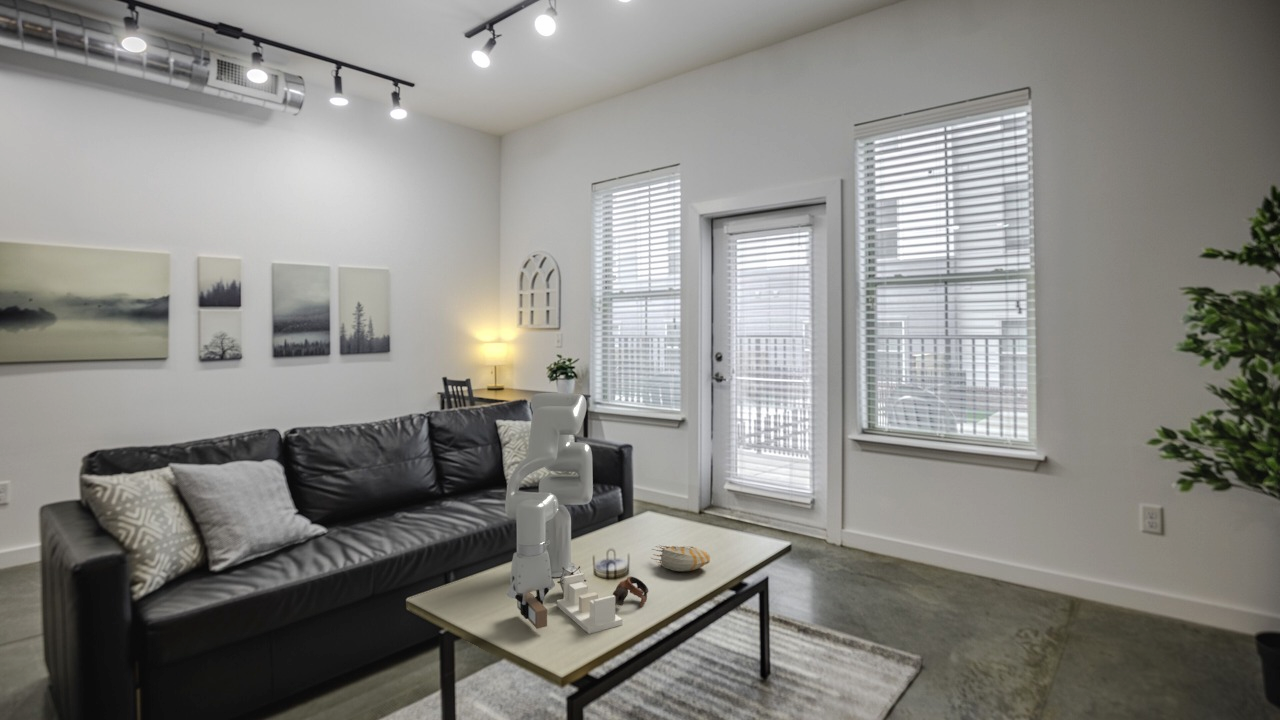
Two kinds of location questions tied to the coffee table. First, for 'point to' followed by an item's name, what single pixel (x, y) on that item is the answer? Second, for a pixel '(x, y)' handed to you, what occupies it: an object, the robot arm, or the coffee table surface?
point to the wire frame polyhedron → (567, 573)
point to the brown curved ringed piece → (627, 585)
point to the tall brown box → (535, 611)
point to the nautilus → (683, 558)
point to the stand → (587, 606)
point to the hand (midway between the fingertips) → (531, 614)
